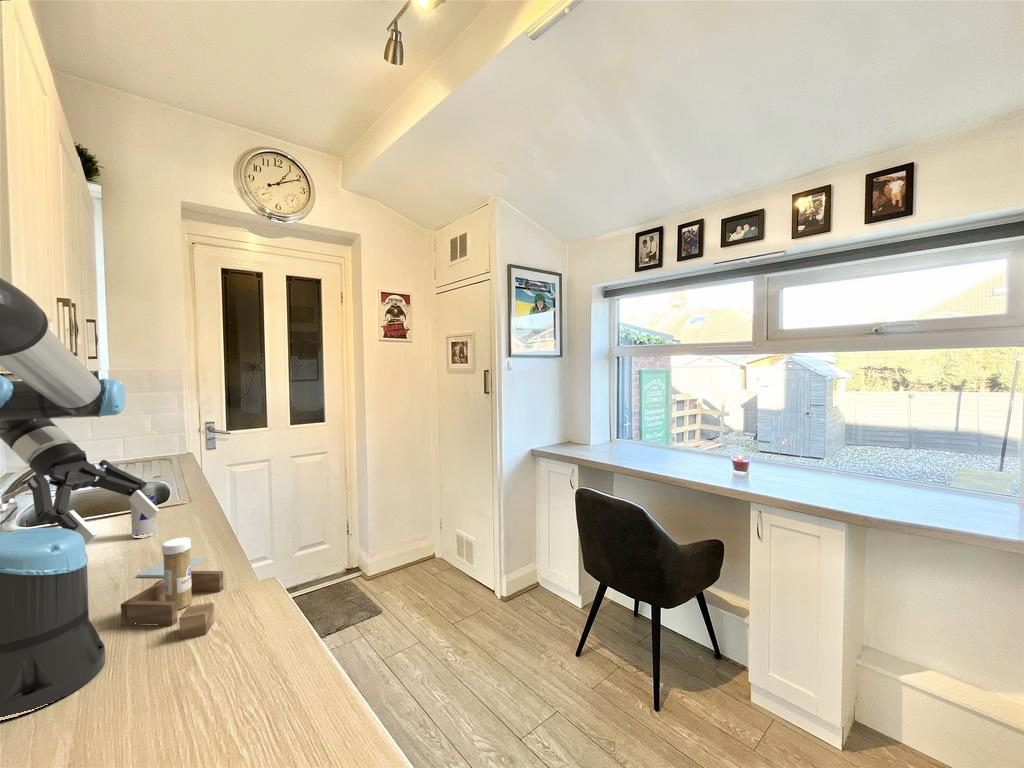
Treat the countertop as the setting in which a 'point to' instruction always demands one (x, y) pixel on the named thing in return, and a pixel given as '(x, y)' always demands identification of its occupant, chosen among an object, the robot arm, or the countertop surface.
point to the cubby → (157, 610)
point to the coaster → (159, 569)
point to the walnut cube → (196, 620)
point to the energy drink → (142, 520)
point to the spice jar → (177, 571)
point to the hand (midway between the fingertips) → (125, 526)
